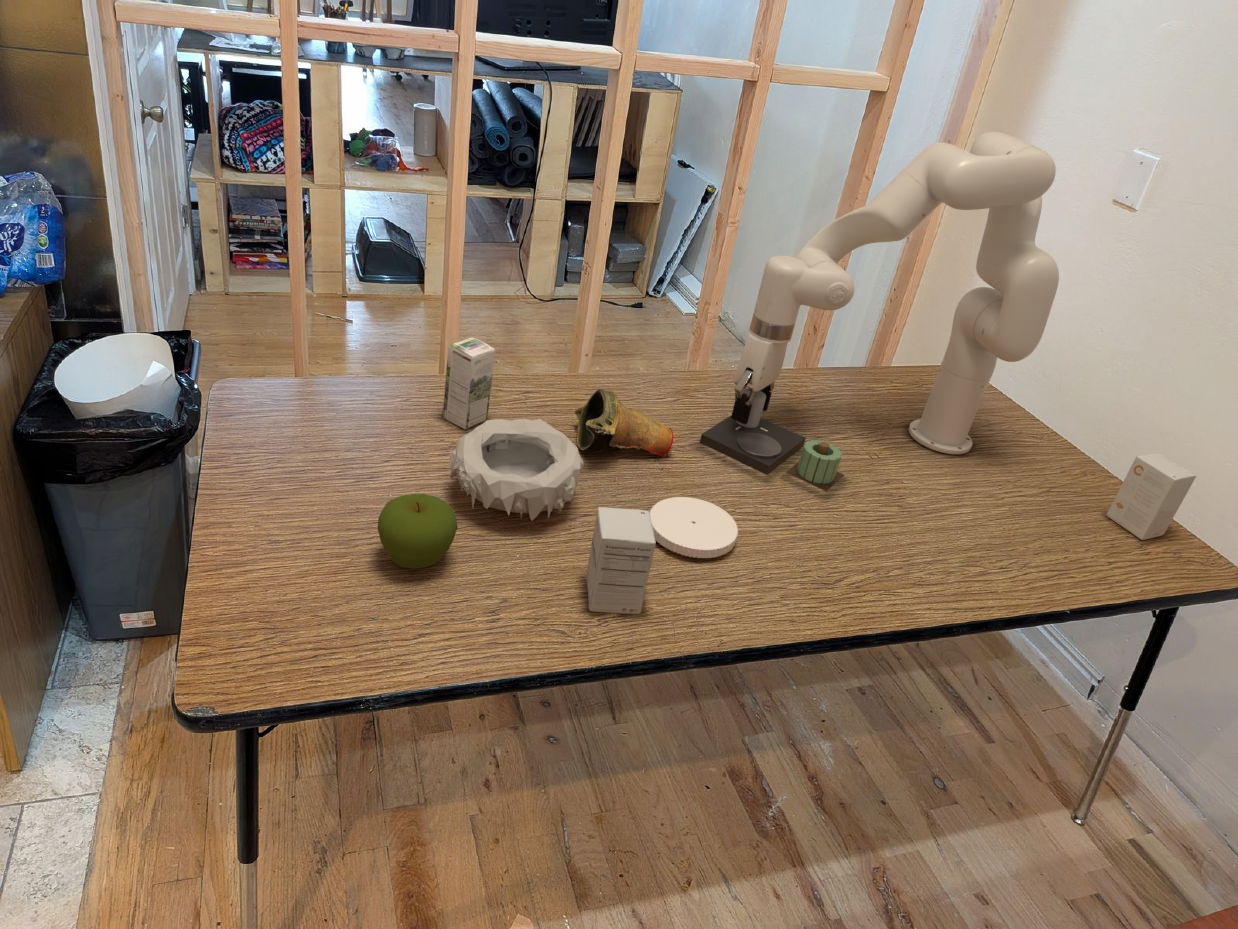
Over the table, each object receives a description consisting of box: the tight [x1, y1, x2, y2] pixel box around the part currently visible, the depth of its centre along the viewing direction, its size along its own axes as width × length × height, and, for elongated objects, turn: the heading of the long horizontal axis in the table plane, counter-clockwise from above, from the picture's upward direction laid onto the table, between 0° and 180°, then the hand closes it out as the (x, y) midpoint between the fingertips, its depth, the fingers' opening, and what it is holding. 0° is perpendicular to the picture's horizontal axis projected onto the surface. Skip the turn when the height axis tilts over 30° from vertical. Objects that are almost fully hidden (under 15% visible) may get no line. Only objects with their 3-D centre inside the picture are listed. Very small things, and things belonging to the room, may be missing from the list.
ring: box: [797, 439, 843, 484], centre depth 162 cm, size 7×7×5 cm
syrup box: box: [442, 337, 496, 431], centre depth 159 cm, size 6×6×14 cm
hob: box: [699, 412, 807, 476], centre depth 169 cm, size 15×15×3 cm
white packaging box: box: [585, 506, 657, 615], centre depth 125 cm, size 7×7×13 cm
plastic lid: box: [649, 496, 739, 559], centre depth 143 cm, size 14×14×2 cm
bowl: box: [449, 418, 585, 521], centre depth 142 cm, size 21×20×10 cm
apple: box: [377, 493, 458, 570], centre depth 125 cm, size 11×10×10 cm
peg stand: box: [785, 441, 845, 493], centre depth 163 cm, size 8×8×7 cm
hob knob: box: [736, 389, 766, 428], centre depth 171 cm, size 4×4×6 cm
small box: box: [1105, 452, 1197, 541], centre depth 165 cm, size 8×6×13 cm
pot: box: [573, 388, 675, 459], centre depth 160 cm, size 17×11×18 cm
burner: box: [737, 433, 781, 459], centre depth 165 cm, size 8×8×1 cm
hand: (749, 413), depth 172 cm, fingers open, 7 cm apart
